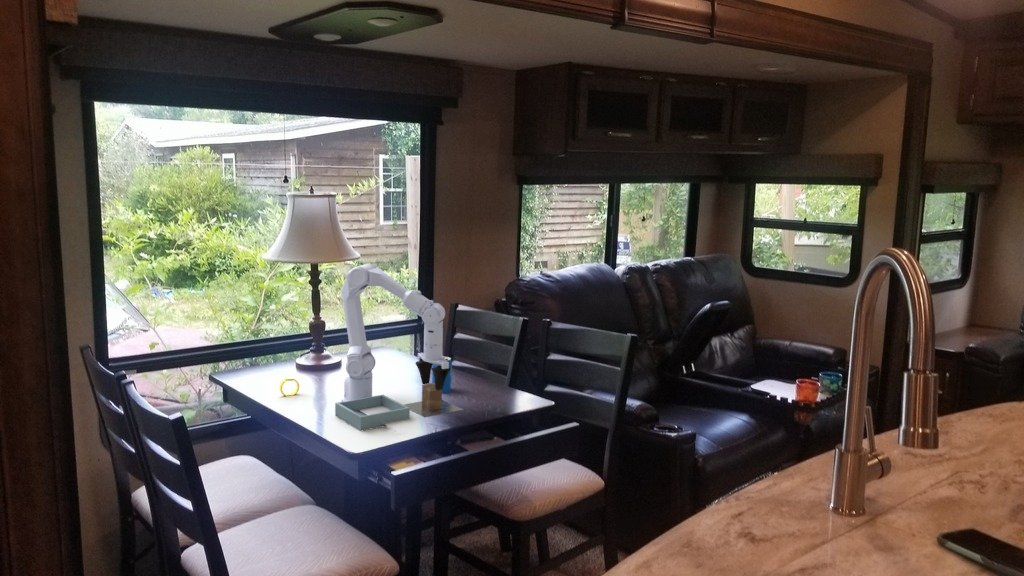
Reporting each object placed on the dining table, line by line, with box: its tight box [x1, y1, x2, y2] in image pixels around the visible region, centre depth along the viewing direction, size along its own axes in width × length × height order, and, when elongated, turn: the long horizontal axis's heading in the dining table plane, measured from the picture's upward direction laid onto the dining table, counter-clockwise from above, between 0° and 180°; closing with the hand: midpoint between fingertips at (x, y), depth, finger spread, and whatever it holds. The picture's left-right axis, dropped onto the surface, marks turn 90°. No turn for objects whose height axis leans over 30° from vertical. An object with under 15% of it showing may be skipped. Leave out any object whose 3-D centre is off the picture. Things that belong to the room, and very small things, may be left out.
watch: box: [279, 376, 300, 397], centre depth 238 cm, size 6×3×6 cm, turn 123°
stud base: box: [403, 399, 464, 418], centre depth 228 cm, size 14×14×5 cm
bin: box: [334, 394, 411, 432], centre depth 219 cm, size 16×16×4 cm
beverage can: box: [431, 356, 453, 394], centre depth 247 cm, size 6×6×12 cm
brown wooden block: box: [421, 382, 443, 410], centre depth 228 cm, size 4×4×7 cm
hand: (432, 386), depth 228 cm, fingers open, 7 cm apart
